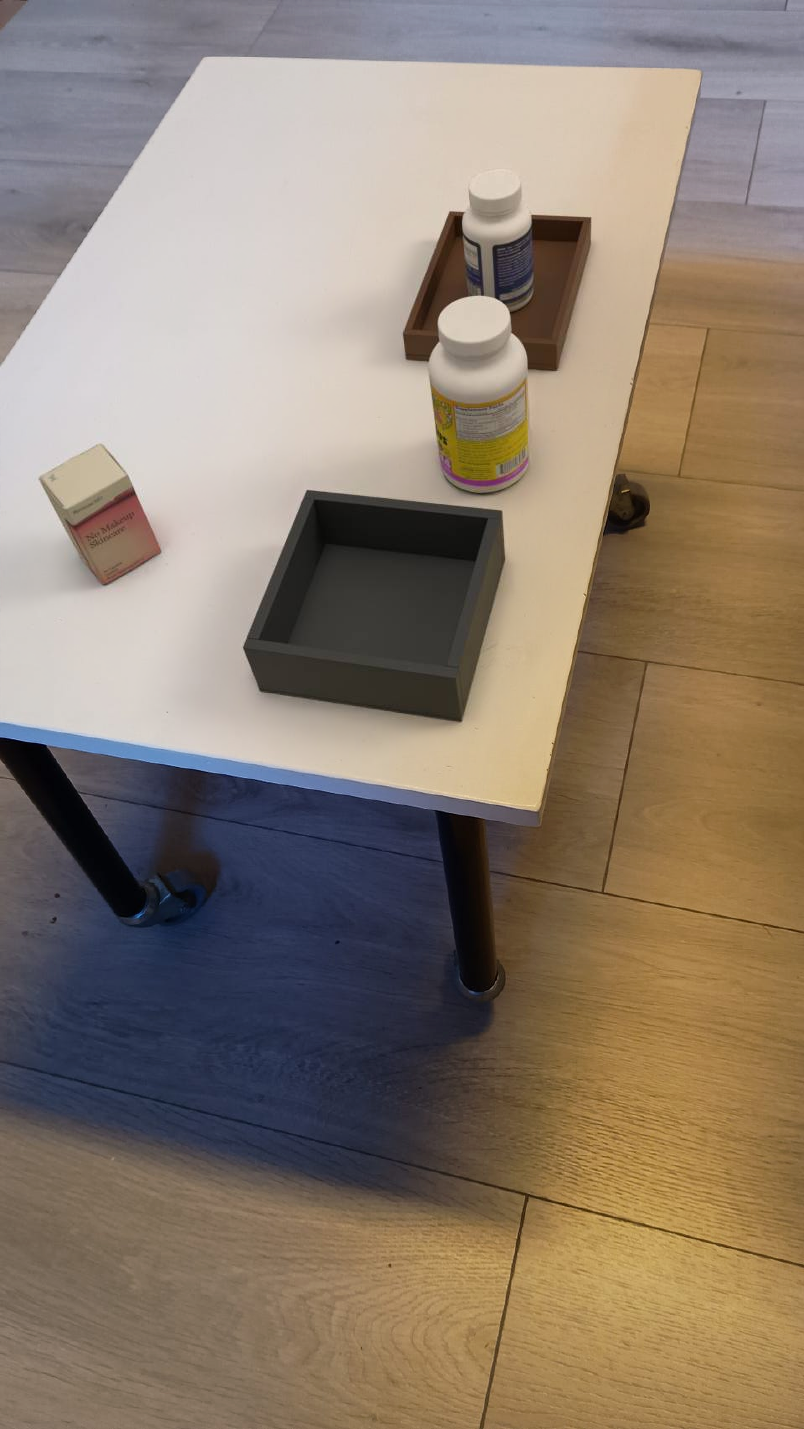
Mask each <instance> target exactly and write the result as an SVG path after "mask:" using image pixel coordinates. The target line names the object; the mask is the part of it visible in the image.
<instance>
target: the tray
mask: <svg viewBox="0 0 804 1429" xmlns="http://www.w3.org/2000/svg"><path fill="white" fill-rule="evenodd" d="M464 213H465V211H456V210H455V211H454V210H452V211H451V210H450V211H448V214H447V217H446V220H445V221H444V224H443V227H442V229H441V232H440V235H439V237H438V240H437V242H436V245H435V248H434V250H433V252H432V256H431V258H430V261H429V264H428V266H427V268H426V271H425V274H424V277H423V279H422V281H421V284H420V287H419V290H418V292H417V295H416V298H415V300H414V303H413V306H412V308H411V310H410V313H409V315H408V319H407V320H406V323H405V326H404V328H403V332H402V339H403V340H402V341H403V346H404V347H403V348H404V354H405V360H411V361H425V362H429V359H430V356H431V353H432V351H433V349H434V348H435V346H436V345H437V344H438V343H439V342H440V340H439V332H438V318H439V316H440V314H441V312H442V311H443V310H444V309H445V308H446V307H447V306H448V305H449V304H451V303H452V302H454V301H456V300H459V299H462V298H465V297H469V296H468V288H467V277H466V265H465V254H464V241H463V229H462V219H463V215H464ZM531 220H532V251H533V282H534V288H533V294H532V297H531V299H530V300H529V302H528V303H527V304H526V305H525V306H523V307H522V308H520V309H518V310H516V311H513V312H510V318H511V333H512V334H514V335H515V336H516V337H517V338H518V339H519V340H520V342H521V343H522V345H523V346H524V348H525V351H526V354H527V366H528V369H531V370H543V371H544V370H546V371H558V367H559V364H560V361H561V357H562V353H563V349H564V345H565V341H566V338H567V335H568V330H569V326H570V323H571V320H572V316H573V312H574V308H575V304H576V301H577V296H578V293H579V290H580V285H581V282H582V278H583V274H584V271H585V268H586V263H587V259H588V255H589V253H590V248H591V244H592V217H591V216H574V215H573V216H572V215H571V216H570V215H550V214H549V215H548V214H547V215H546V214H531Z"/></svg>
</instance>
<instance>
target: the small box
mask: <svg viewBox="0 0 804 1429" xmlns="http://www.w3.org/2000/svg"><path fill="white" fill-rule="evenodd" d="M38 480H39V482H40V485H41V486H42V488H43V490H44V492H45V494H46V495H47V498H48V500H49V502H50V503H51V506H52V507H53V510H54V511H55V513H56V515H57V517H58V519H59V521H60V523H61V525H62V526H63V528H64V530H65V532H66V533H67V536H68V538H69V539H70V541H71V543H72V545H73V546H74V548H75V551H76V552H77V554H78V555H79V557H80V559H81V560H82V561H83V562H84V564H85V565H86V566H87V567H88V569H89V571H91V573H92V574H93V575H94V576H95V577H96V578H97V579H98V581H99V582H100V583H101V584H103V585H107V584H109V583H111V582H112V581H114V580H115V579H118V578H119V577H121V576H123V575H124V574H126V573H128V572H130V571H131V570H133V569H135V568H136V567H138V566H140V565H141V564H143V563H144V562H146V561H148V560H150V559H151V558H153V557H155V556H156V555H158V554H159V553H160V552H161V550H162V549H161V547H160V544H159V542H158V540H157V537H156V535H155V533H154V531H153V529H152V527H151V524H150V521H149V520H148V517H147V515H146V512H145V511H144V509H143V506H142V504H141V502H140V499H139V496H138V494H137V493H136V491H135V488H134V485H133V483H132V480H131V479H130V476H129V474H128V472H127V471H126V470H125V469H124V467H123V466H122V464H121V463H120V462H119V461H118V460H117V459H116V457H115V456H114V455H113V454H112V452H110V451H109V450H108V448H107V447H106V446H105V444H103V443H97V444H96V445H94V446H92V447H90V448H88V449H86V450H84V451H83V452H81V453H79V454H78V455H75V456H73V457H71V458H69V459H67V460H65V461H63V463H60V464H59V465H58V466H56V467H54V468H52V469H51V470H49V471H47V472H45V473H43V474H42V475H40V476H38Z"/></svg>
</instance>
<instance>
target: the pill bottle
mask: <svg viewBox="0 0 804 1429" xmlns="http://www.w3.org/2000/svg"><path fill="white" fill-rule="evenodd" d="M522 188H523V187H522V180H521V177H520V176H519V175H518V174H517V173H515V172H514V171H512V170H508V169H502V168H495V169H489V170H486V171H483V172H479V173H478V174H477V175H475V176H474V177H473V178H472V179H471V180H470V181H469V183H468V189H467V190H468V199H469V200H468V201H469V206H468V207H467V208H465V211H464V212H465V213H464V215H463V219H462V229H463V241H464V254H465V265H466V277H467V288H468V296H469V297H470V296H487V297H492V298H495V299H497V300H499V301H501V302H502V303H503V304H504V305H505V306H506V307H507V308H508V310H509V312H513V311H516V310H518V309H520V308H522V307H523V306H525V305H526V304H527V303H528V302H529V300H530V299H531V297H532V294H533V288H534V282H533V251H532V220H531V215H532V212H531V210H530V207H529V205H528V204H527V203H526V202H525V201H524V200H523V190H522Z"/></svg>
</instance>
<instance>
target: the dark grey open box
mask: <svg viewBox="0 0 804 1429" xmlns="http://www.w3.org/2000/svg"><path fill="white" fill-rule="evenodd" d="M503 518H504V516H503V510H501V509H494V508H493V509H492V508H482V507H474V506H465V505H464V506H463V505H455V504H447V503H435V502H428V501H427V502H425V501H418V500H417V501H416V500H407V499H398V498H391V497H390V498H389V497H379V496H371V495H370V496H369V495H360V494H350V493H342V492H333V491H332V492H331V491H323V490H313V489H306V490H305V493H304V496H303V498H302V500H301V502H300V505H299V508H298V510H297V513H296V514H295V517H294V520H293V523H292V524H291V527H290V530H289V532H288V535H287V537H286V540H285V542H284V543H283V544H284V545H283V546H282V549H281V552H280V555H279V557H278V559H277V562H276V565H275V566H274V570H272V573H271V576H270V579H269V581H268V584H267V587H266V589H265V591H264V594H263V596H262V598H261V601H260V604H259V606H258V609H257V611H256V614H255V615H254V617H253V618H254V619H253V621H252V623H251V626H250V628H249V631H248V633H247V635H246V639H245V641H244V643H243V646H242V649H243V653H244V654H245V657H246V659H247V662H248V664H249V667H250V669H251V672H252V675H253V677H254V680H255V682H256V685H257V687H258V690H259V692H263V693H269V694H277V695H282V696H289V697H294V698H295V697H296V698H302V699H310V700H316V701H322V702H328V703H335V704H340V705H341V704H342V705H347V706H354V707H360V708H367V709H373V710H380V711H387V712H394V713H402V714H406V715H407V714H408V715H413V716H414V715H415V716H420V717H426V718H432V719H433V718H434V719H438V720H439V719H440V720H446V721H453V722H458V723H462V721H463V718H464V714H465V711H466V706H467V703H468V699H469V696H470V692H471V688H472V685H473V680H474V677H475V672H476V669H477V665H478V662H479V658H480V655H481V651H482V647H483V644H484V640H485V637H486V632H487V629H488V625H489V621H490V617H491V613H492V610H493V606H494V603H495V599H496V595H497V592H498V588H499V584H500V580H501V578H502V577H501V576H502V574H503V569H504V565H505V562H506V550H505V549H506V548H505V532H504V519H503Z"/></svg>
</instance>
